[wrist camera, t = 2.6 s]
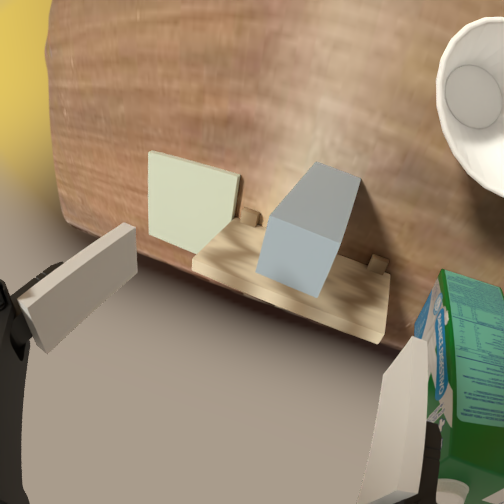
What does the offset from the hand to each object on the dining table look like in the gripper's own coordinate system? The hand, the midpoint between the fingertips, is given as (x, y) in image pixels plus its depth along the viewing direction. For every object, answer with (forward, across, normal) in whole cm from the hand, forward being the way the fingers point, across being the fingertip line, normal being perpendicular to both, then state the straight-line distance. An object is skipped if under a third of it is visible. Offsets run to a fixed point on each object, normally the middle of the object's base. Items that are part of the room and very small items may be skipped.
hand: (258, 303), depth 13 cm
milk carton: (+23, +20, -10) cm, 32 cm away
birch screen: (+23, 0, -10) cm, 25 cm away
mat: (+23, -17, -11) cm, 30 cm away
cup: (+22, +11, +12) cm, 28 cm away
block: (+23, 0, -2) cm, 23 cm away
